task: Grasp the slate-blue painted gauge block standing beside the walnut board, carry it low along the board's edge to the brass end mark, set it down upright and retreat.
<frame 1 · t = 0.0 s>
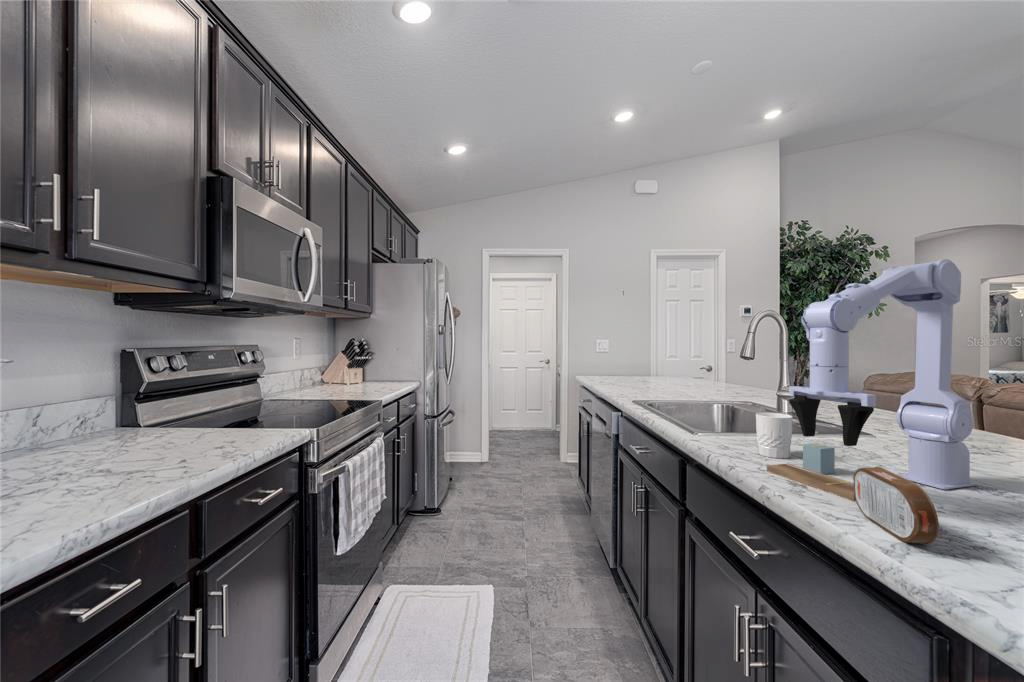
hand: (828, 440, 78), 10 cm above the counter, tool pointing down, fingers open, 7 cm apart
tin: (889, 531, 64), on the counter
gauge block: (818, 471, 93), on the counter
walnut board: (817, 483, 85), on the counter
white cup: (773, 455, 106), on the counter
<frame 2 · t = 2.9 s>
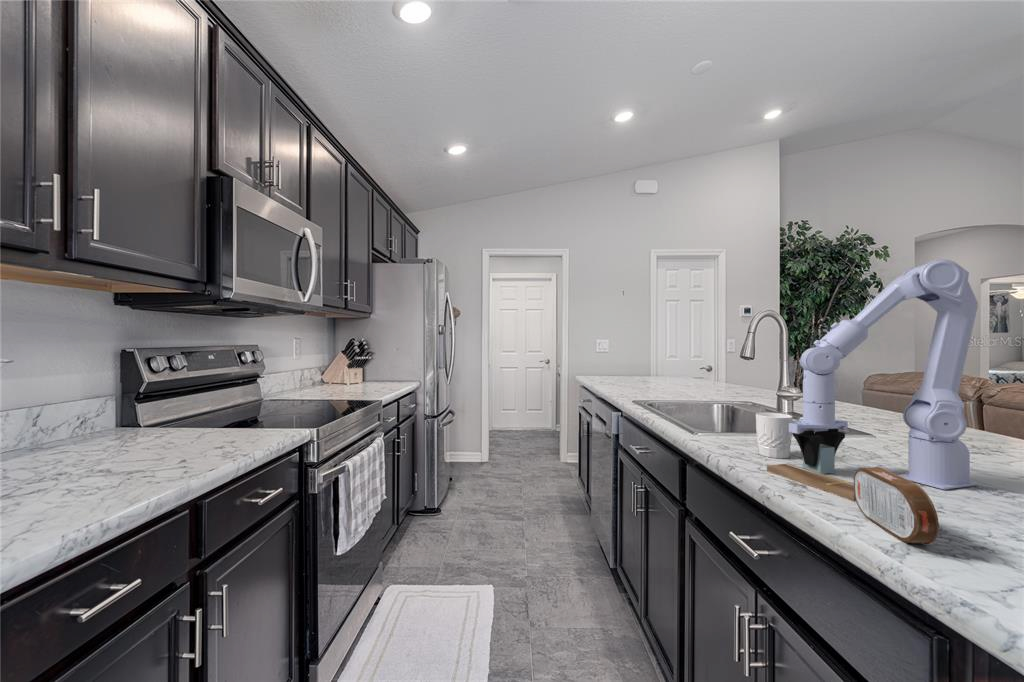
hand: (818, 464, 93), 1 cm above the counter, tool pointing down, fingers closed on gauge block, 4 cm apart
gauge block: (818, 471, 93), on the counter, touching gripper
everything else where it was.
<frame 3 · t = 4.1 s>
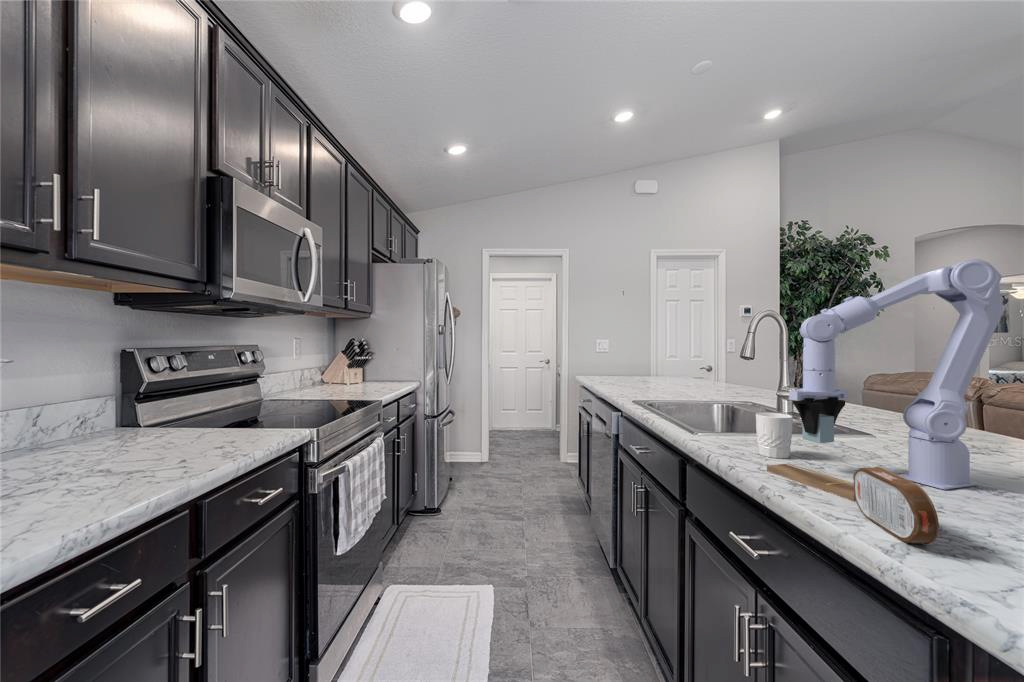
hand: (818, 432, 93), 8 cm above the counter, tool pointing down, fingers closed on gauge block, 4 cm apart
gauge block: (818, 440, 93), point 7 cm above the counter, touching gripper
everything else where it was.
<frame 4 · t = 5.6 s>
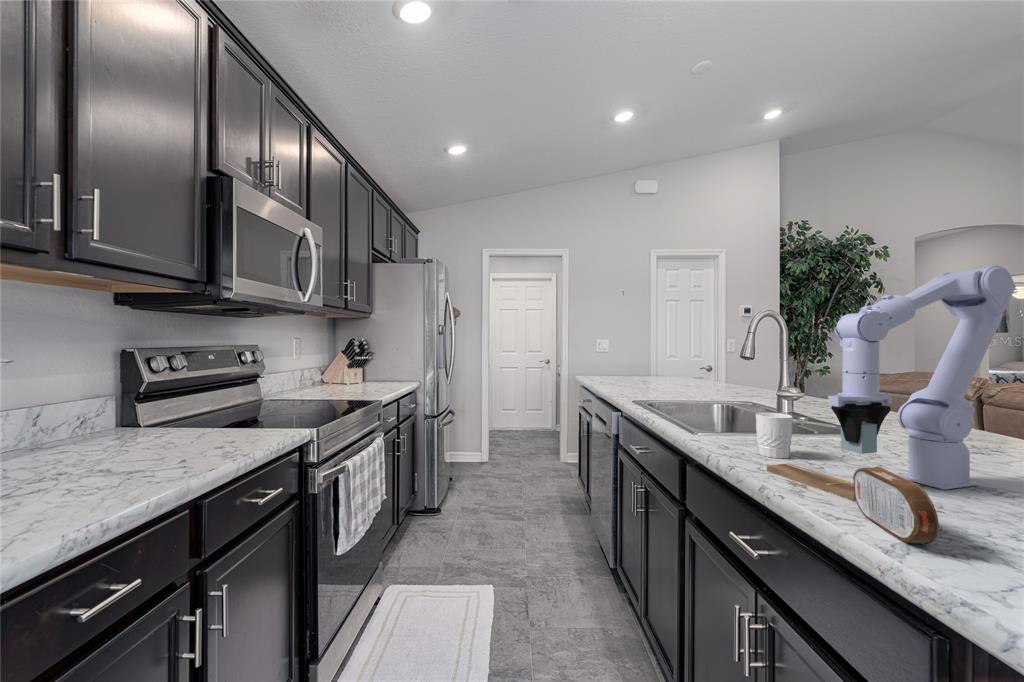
hand: (860, 441, 85), 8 cm above the counter, tool pointing down, fingers closed on gauge block, 4 cm apart
gauge block: (858, 450, 85), point 6 cm above the counter, touching gripper
everything else where it was.
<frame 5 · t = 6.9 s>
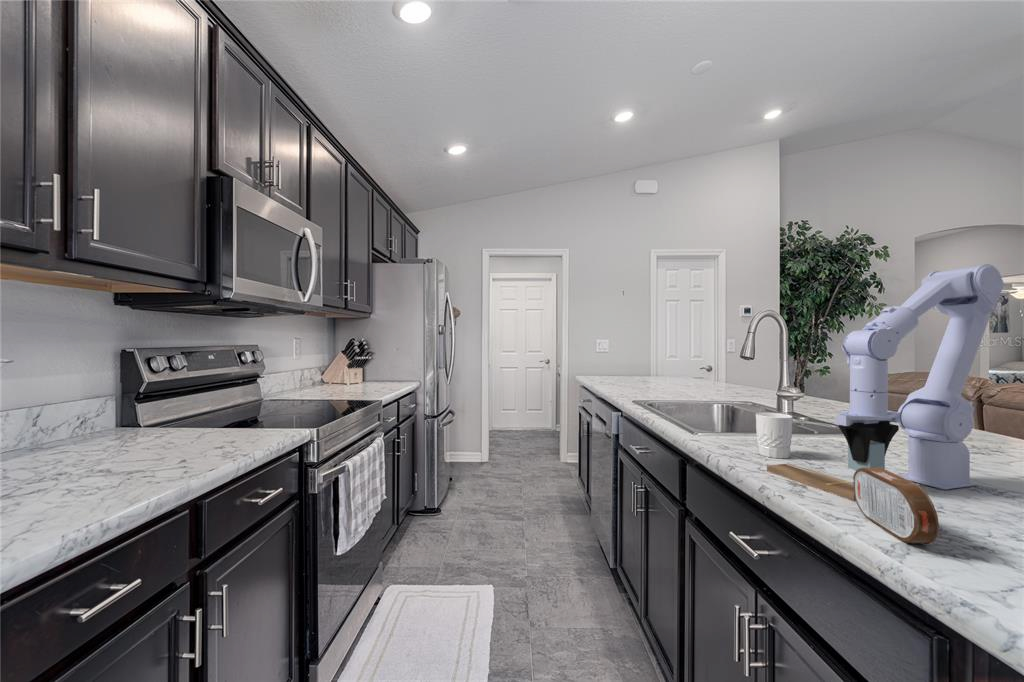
hand: (868, 460, 83), 5 cm above the counter, tool pointing down, fingers closed on gauge block, 4 cm apart
gauge block: (866, 470, 84), point 3 cm above the counter, touching gripper
everything else where it was.
when the fingers open (2 cm above the counter, at t = 8.3 s): gauge block stays where it is, on the counter.
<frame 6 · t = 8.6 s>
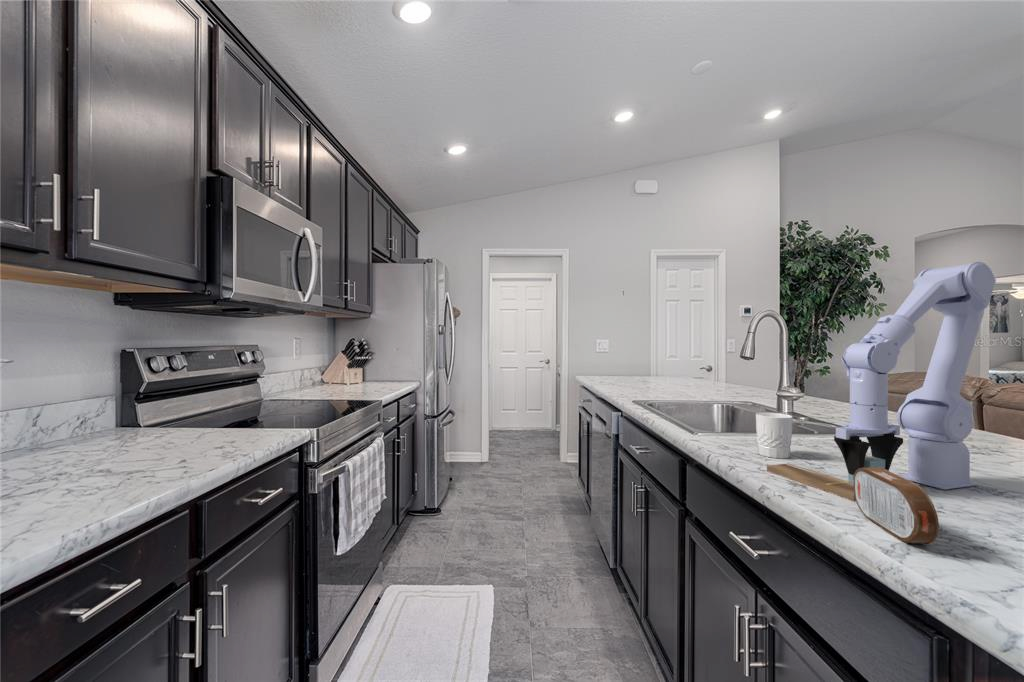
hand: (868, 473, 83), 2 cm above the counter, tool pointing down, fingers open, 6 cm apart
gauge block: (866, 485, 84), on the counter
everything else where it was.
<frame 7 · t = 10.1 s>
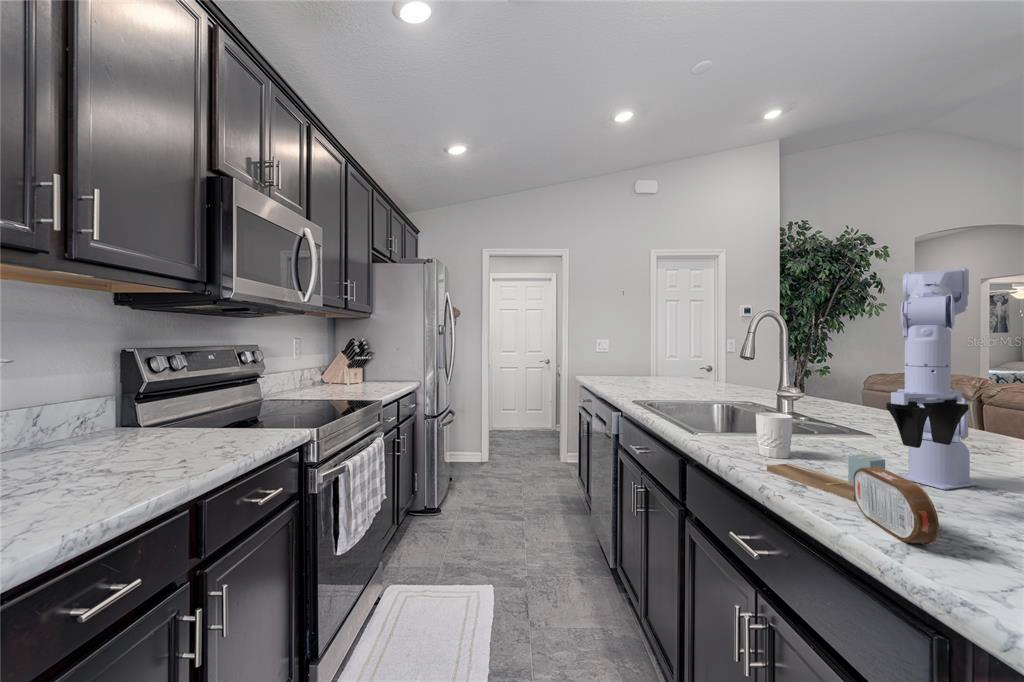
hand: (926, 445, 74), 10 cm above the counter, tool pointing down, fingers open, 7 cm apart
nothing on the counter moved.
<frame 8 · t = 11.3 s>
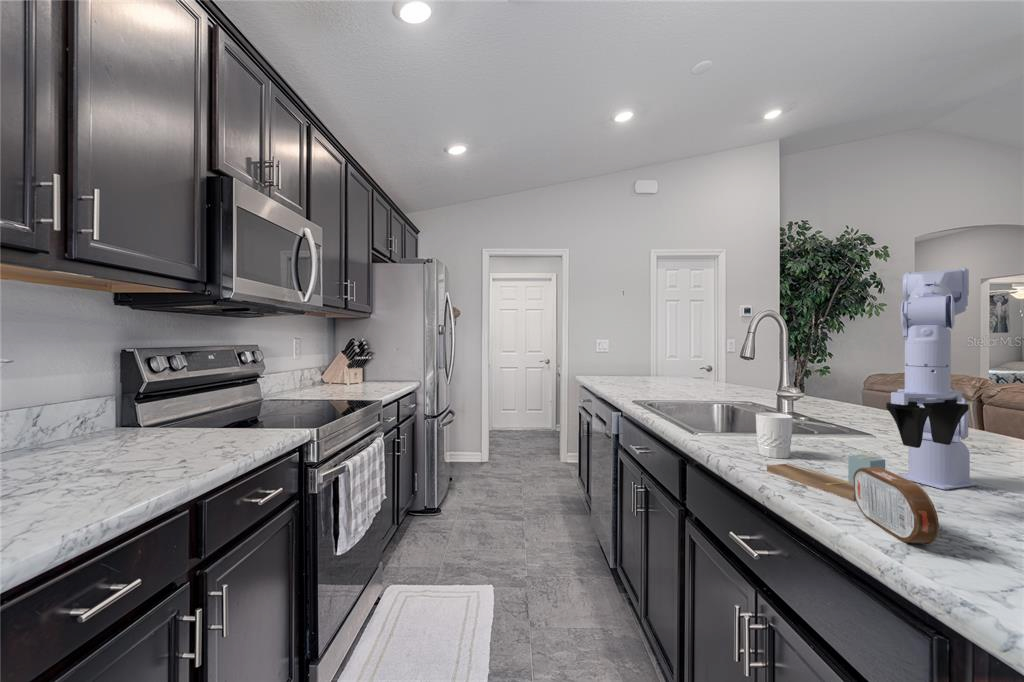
hand: (926, 445, 74), 10 cm above the counter, tool pointing down, fingers open, 7 cm apart
nothing on the counter moved.
at the end: gauge block inside the target area (0.3 cm from its centre), on the counter; gauge block tilted 0°; gauge block moved 9.7 cm from its start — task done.
